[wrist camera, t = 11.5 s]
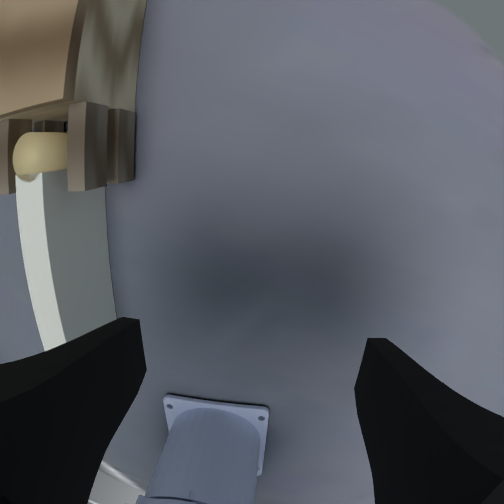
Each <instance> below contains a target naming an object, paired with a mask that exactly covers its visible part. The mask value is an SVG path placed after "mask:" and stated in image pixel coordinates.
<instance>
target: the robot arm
mask: <svg viewBox="0 0 504 504" xmlns="http://www.w3.org/2000/svg"><path fill="white" fill-rule="evenodd" d="M146 370H147V368H146V362H145V356H144V350H143V343H142V336H141V328H140V320H139V319H132V318H125V317H122V318H119V319H116V320H114V321H112V322H109V323H107V324H105V325H103V326H101V327H99V328H96V329H94V330H92V331H90V332H88V333H86V334H84V335H82V336H80V337H78V338H75V339H73V340H71V341H69V342H66V343H64V344H62V345H59V346H57V347H55V348H52V349H50V350H47V351H45V352H42V353H39V354H37V355H34V356H30V357H27V358H24V359H21V360H17V361H13V362H8V363H4V364H0V504H87V503H88V499H89V496H90V492H91V489H92V486H93V483H94V480H95V477H96V474H97V472H98V469H99V467H100V464H101V461H102V459H103V456H104V454H105V451H106V449H107V447H108V445H109V443H110V441H111V439H112V438H113V436H114V434H115V432H116V431H117V429H118V427H119V425H120V424H121V422H122V420H123V418H124V417H125V415H126V413H127V411H128V410H129V408H130V406H131V404H132V403H133V401H134V399H135V397H136V395H137V394H138V391H139V389H140V386H141V384H142V381H143V378H144V376H145V373H146ZM354 390H355V399H356V407H357V415H358V419H359V423H360V427H361V431H362V435H363V439H364V442H365V446H366V450H367V454H368V458H369V463H370V467H371V472H372V477H373V485H374V496H375V504H504V417H502V416H500V415H498V414H495V413H493V412H491V411H489V410H487V409H485V408H483V407H481V406H479V405H477V404H475V403H474V402H472V401H470V400H468V399H467V398H465V397H463V396H462V395H460V394H458V393H457V392H455V391H454V390H452V389H451V388H449V387H448V386H447V385H445V384H444V383H442V382H441V381H440V380H438V379H437V378H435V377H434V376H433V375H432V374H430V373H429V372H428V371H426V370H425V369H424V368H423V367H421V366H420V365H419V364H418V363H416V362H415V361H414V360H413V359H412V358H410V357H409V356H408V355H407V354H405V353H404V352H403V351H402V350H401V349H399V348H398V347H397V346H396V345H394V344H393V343H392V342H390V341H389V340H388V339H386V338H368V339H367V343H366V347H365V351H364V355H363V358H362V362H361V366H360V370H359V373H358V377H357V380H356V384H355V387H354ZM163 403H164V409H165V414H166V420H167V425H168V430H169V435H168V438H167V440H166V443H165V445H164V448H163V451H162V453H161V456H160V458H159V461H158V463H157V466H156V468H155V471H154V474H153V476H152V479H151V481H150V484H149V487H148V489H147V492H146V494H145V496H142V495H139V497H138V499H137V502H136V504H254V500H255V491H256V482H257V476H259V475H261V474H262V467H263V460H264V452H265V444H266V435H267V427H268V418H269V409H268V408H266V407H263V406H252V405H241V404H232V403H223V402H215V401H207V400H200V399H193V398H187V397H181V396H175V395H165V396H164V398H163ZM169 404H170V405H169ZM171 405H172V406H171ZM260 416H263V417H260Z"/></svg>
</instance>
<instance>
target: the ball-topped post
mask: <svg viewBox="0 0 504 504" xmlns="http://www.w3.org/2000/svg"><path fill="white" fill-rule="evenodd" d="M67 138H68V133H63V132H28V133H25V134H24V135H22V136H21V137H20V138H19V140H18V141H17V143H16V145H15V148H14V152H13V167H14V170H15V173H16V175H15V178H16V197H17V211H18V221H19V230H20V239H21V246H22V253H23V259H24V265H25V271H26V277H27V282H28V287H29V292H30V296H31V301H32V305H33V309H34V313H35V317H36V321H37V325H38V329H39V333H40V336H41V340H42V343H43V346H44V350H45V351H47V350H50V349H52V348H55V347H57V346H59V345H62V344H64V343H66V342H69V341H71V340H73V339H75V338H78V337H80V336H82V335H84V334H86V333H88V332H90V331H92V330H94V329H96V328H99V327H101V326H103V325H105V324H107V323H109V322H112V321H114V320H116V319H117V317H116V310H115V303H114V296H113V288H112V280H111V271H110V261H109V251H108V238H107V223H106V203H105V186H104V187H100V188H96V189H91V190H87V191H68V179H67Z"/></svg>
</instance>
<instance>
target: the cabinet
mask: <svg viewBox="0 0 504 504" xmlns="http://www.w3.org/2000/svg"><path fill="white" fill-rule="evenodd" d="M146 2H147V0H0V195H3V194H11V193H16V178H15V175H16V173H15V170H14V167H13V152H14V148H15V145H16V143H17V141H18V140H19V138H20V137H21V136H22V135H24V134H25V133H28V132H32V128H34V132H64V122H68V138H67V179H68V191H87V190H91V189H96V188H100V187H104V186H107V184H112V183H122V182H127V181H131V180H134V136H135V99H136V85H137V73H138V62H139V53H140V44H141V36H142V29H143V21H144V15H145V8H146Z"/></svg>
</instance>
